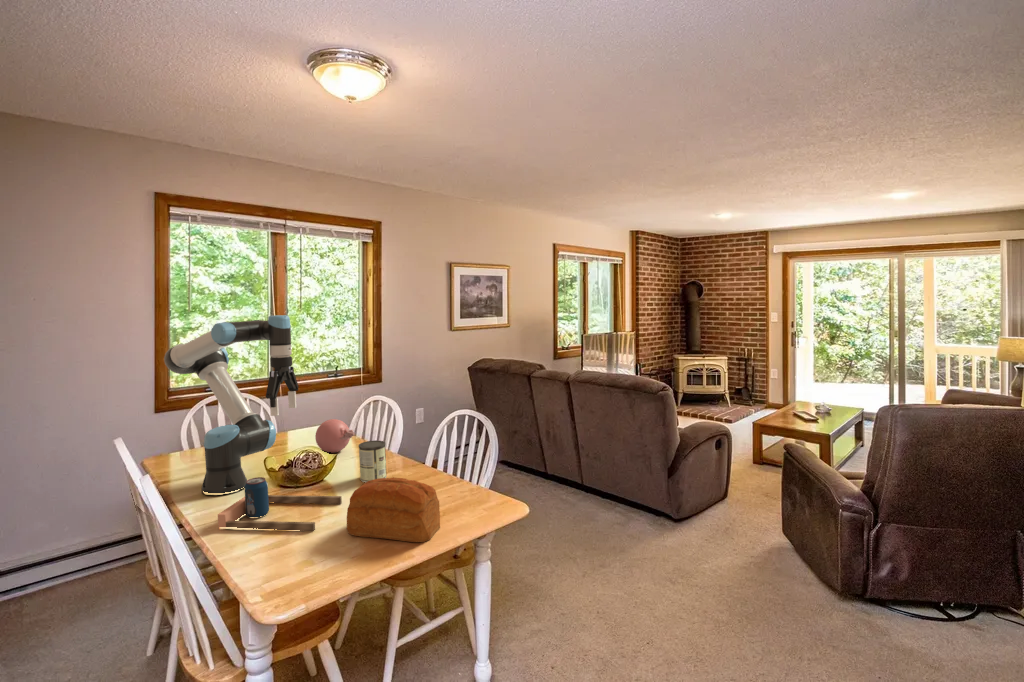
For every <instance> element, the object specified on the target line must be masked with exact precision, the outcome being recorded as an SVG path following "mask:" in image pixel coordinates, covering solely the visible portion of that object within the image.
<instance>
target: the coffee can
mask: <svg viewBox="0 0 1024 682" xmlns="http://www.w3.org/2000/svg"><path fill="white" fill-rule="evenodd" d="M358 455H359V474H360V476H359V477H360V479H359V480H361V481H362V483H364V482H365V483H366V482H368V481H370V480H374V479H378V478H386V477H387V459H386V458H387V457H386V455H387V454H386V442H385V441H384V440H368V441H363V442H360V443H359V444H358ZM387 478H388V477H387ZM361 481H360V482H361Z"/></svg>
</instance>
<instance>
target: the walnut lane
mask: <svg viewBox="0 0 1024 682" xmlns="http://www.w3.org/2000/svg"><path fill="white" fill-rule="evenodd" d="M268 499H269V502H274V503H303V504H302V505H310V504H309V503H315V504H314V505H342V503H343V501H342V496H341V495H291V494H290V495H289V494H288V495H285V494H284V495H281V494H280V495H279V494H278V495H277V494H276V495H274V494H272V495H271V494H268ZM274 503H273V504H274ZM226 527H237V528H253V529H254V528H256V529H257V528H258V529H274V530H275V529H277V530H300V531H299V532H304V531H314V530H316V522H315V521H267V520H266V521H265V520H263V521H261V520H260V521H259V520H258V521H257V520H239V521H227V522H226ZM314 532H315V531H314Z"/></svg>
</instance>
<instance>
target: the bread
mask: <svg viewBox="0 0 1024 682" xmlns="http://www.w3.org/2000/svg"><path fill="white" fill-rule="evenodd" d="M440 512H441V511H440V500H439V498H438V495H437V490H436V489H435V488H434V487H433V486H431V485H428V484H427V483H422V482H420V481H417V480H412V479H407V478H404V477H390V478H389V477H387V478H378V479H374V480H370V481H368V482H366V483H364V482H363V484H362V485H360V486H359V487H358V488H357V489H354V490H353V492H352V494H351V496H350V498H349V505H348V506H347V512H346V530H347V533H348V534H349V535H352V536H355V537H362V538H363V537H364V538H374V539H375V538H376V539H385V540H393V541H394V540H395V541H400V542H401V541H402V542H409V543H410V542H413V543H425V542H427V541H429V540H432V538H433V536H434V535H435V534H436V533H437V532H438V531H439V530H440V529H441V514H440Z"/></svg>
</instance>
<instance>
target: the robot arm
mask: <svg viewBox="0 0 1024 682" xmlns="http://www.w3.org/2000/svg"><path fill="white" fill-rule="evenodd" d="M291 328H292V326H291V319H290V316H289V315H286V314H285V315H284V314H283V315H281V314H279V315H278V314H277V315H274V314H273V315H269V316H268V318H267V320H264V319H263V320H261V319H257V320H256V319H253V320H248V321H247V320H246V321H223V322H218V323H214V324H213V325H212V328H211V330H210V331H208V332H206V333H204V334H201V335H200V336H198V337H196V338H193V339H192V340H191V341H188V342H186V343H180V344H175V346H172V347H171V348H169V349H168V350H167V351H166V352H165V353H164V357H163V359H164V360H163V362H164V365H165V366H166V368H167V369H168V370H169V371H171V372H172V373H175V374H179V375H188V374H190V375H191V374H196V375H197V377H198V378H199V379H200V380H201V381H205V382H206V383H207V385H208V388H210V390H211V392H212V393H213V395H214V396H215V398H216V400H217V401H218V403H219V404H220V406H221V408H222V410H223V411H224V413H225V414H226V416H227V418H228V419H229V420H230V423H231V424H227V425H219V426H216V427H214V428H212V429H209V430H208V431H207V432H206V433H205V434H204V435H203V436H204V438H203V448H204V459H205V473H204V479H203V481H202V485H201V491H202V490H203V491H204V492H208V493H225V492H231V491H235V490H238V489H241V488H243V487H245V485H246V481H247V480H248V478H247V477H246V474H245V471H244V469H243V468H242V459H241V458H243V457H247V456H249V455H254V454H256V453H257V454H258V453H261V452H264V451H265V450H268V449H270V448H271V447H273V445H274V444H275V442H276V440H277V439H276V438H277V430H276V429H277V428H276V426H275V424H274V423H273V421H271V420H268V419H263V417H262V416H261V415H260V414H259V413H255V412H254V411H253V410H252V409H251V407H250V405H249V403H248V402H247V400H246V398H245V397H244V396H243V394H242V392H241V391H240V389H239V388H238V386H237V384H236V383H235V382H234V380H233V378H232V377H231V375H230V373H229V372H228V367H229V362H230V357H228V356H229V352H228V351H227V349H226V347H228V346H230V345H232V344H236V343H243V342H254V341H269V356H270V367H271V368H274V369H273V370H270V371H269V373H268V375H269V378H268V384H267V387H266V393H265V398H266V399H269V408H270V417H279V415H280V413H279V397H277V396H278V395H279V391H280V387H281V385H282V383H285V385H286V387H287V389H288V391H287V397H288V398H287V399H288V408H289V409H297V391H299V384H298V380H297V377H296V374H295V369H294V366H293V357H292V356H291V355H293V354H292V351H293V347H292V334H291V333H292V331H291V330H292V329H291Z"/></svg>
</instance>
